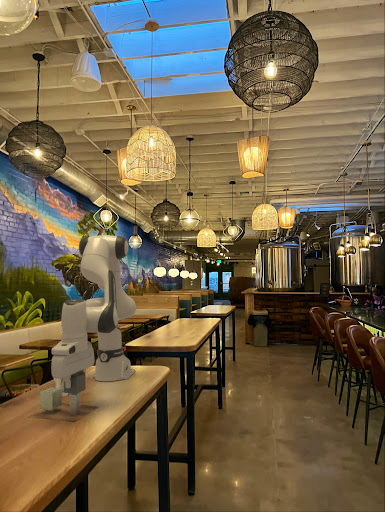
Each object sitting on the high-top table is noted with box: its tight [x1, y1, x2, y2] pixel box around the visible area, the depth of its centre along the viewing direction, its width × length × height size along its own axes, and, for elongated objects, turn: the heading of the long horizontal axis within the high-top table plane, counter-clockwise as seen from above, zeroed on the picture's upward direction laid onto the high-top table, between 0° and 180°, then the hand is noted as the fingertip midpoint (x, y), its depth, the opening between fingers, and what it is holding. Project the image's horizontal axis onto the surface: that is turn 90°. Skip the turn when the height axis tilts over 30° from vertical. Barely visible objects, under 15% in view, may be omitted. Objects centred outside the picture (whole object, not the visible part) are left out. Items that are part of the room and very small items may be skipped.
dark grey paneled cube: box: [64, 372, 87, 394], centre depth 129 cm, size 5×5×6 cm
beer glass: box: [53, 378, 71, 397], centre depth 152 cm, size 7×7×15 cm
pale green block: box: [39, 387, 63, 413], centre depth 132 cm, size 5×5×8 cm
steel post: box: [68, 392, 81, 416], centre depth 129 cm, size 3×3×7 cm
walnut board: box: [28, 402, 99, 423], centre depth 131 cm, size 15×19×1 cm
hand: (74, 385), depth 129 cm, fingers closed on dark grey paneled cube, 5 cm apart
